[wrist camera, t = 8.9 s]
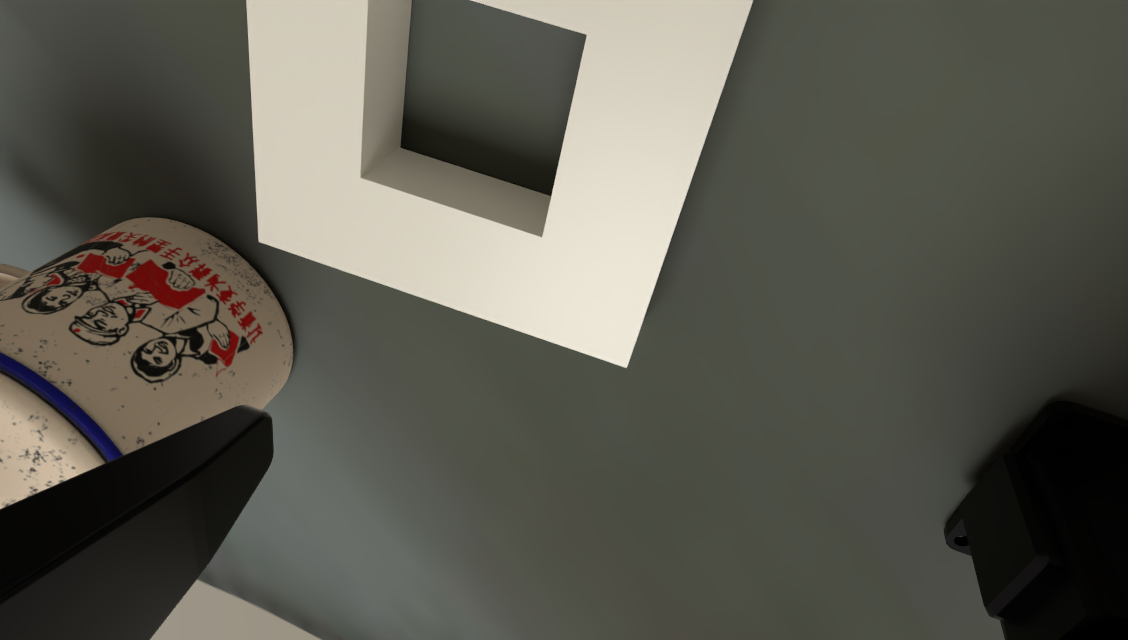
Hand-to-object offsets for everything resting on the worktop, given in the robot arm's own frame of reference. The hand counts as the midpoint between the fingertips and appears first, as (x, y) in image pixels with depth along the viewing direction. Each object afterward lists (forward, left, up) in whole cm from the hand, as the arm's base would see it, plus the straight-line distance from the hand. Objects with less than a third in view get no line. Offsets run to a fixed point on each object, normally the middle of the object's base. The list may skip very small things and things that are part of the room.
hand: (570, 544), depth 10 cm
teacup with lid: (+18, +11, -13) cm, 25 cm away
